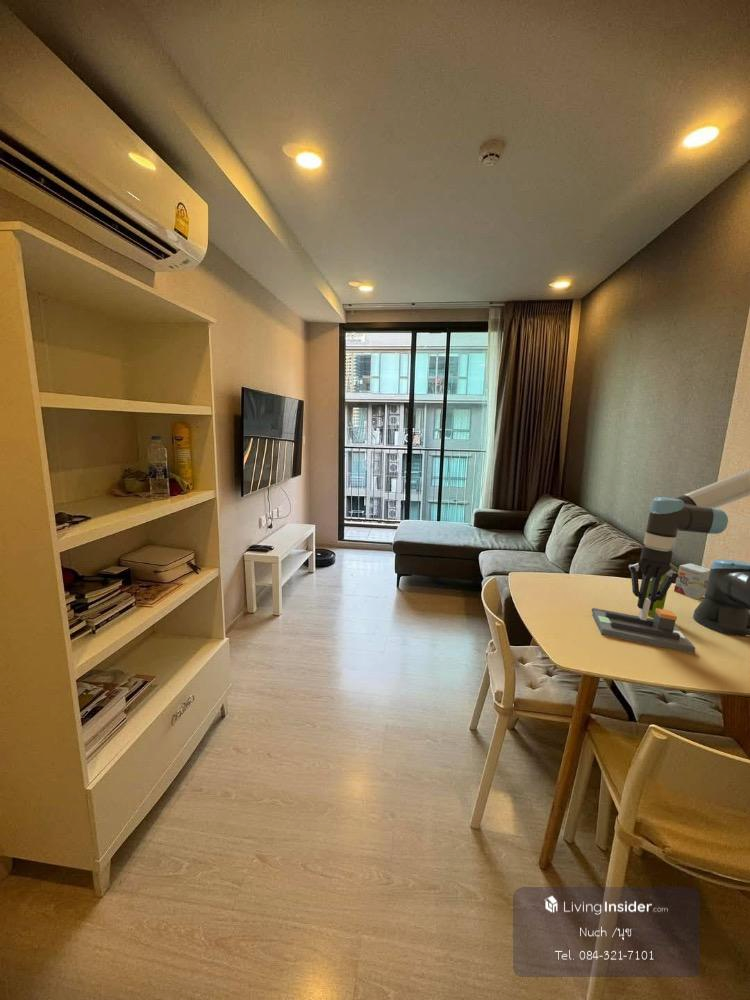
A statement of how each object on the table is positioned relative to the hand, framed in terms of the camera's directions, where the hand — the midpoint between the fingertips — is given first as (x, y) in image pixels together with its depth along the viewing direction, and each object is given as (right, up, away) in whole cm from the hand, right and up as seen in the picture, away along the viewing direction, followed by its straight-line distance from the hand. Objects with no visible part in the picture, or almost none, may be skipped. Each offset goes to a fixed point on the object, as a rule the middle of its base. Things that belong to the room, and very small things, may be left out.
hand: (642, 618), depth 119 cm
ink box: (+46, -2, +36) cm, 59 cm away
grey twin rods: (+3, -4, +10) cm, 11 cm away
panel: (0, -5, +1) cm, 5 cm away
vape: (+14, -4, +15) cm, 21 cm away
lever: (+5, -3, -1) cm, 6 cm away
